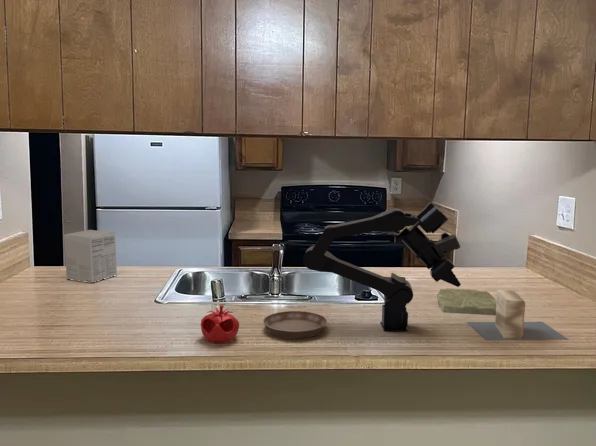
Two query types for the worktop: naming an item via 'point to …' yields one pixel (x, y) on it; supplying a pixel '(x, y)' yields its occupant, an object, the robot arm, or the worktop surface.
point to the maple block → (510, 314)
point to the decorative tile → (466, 301)
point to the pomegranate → (219, 326)
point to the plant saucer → (294, 324)
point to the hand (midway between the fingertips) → (459, 285)
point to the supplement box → (90, 255)
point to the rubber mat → (529, 331)
